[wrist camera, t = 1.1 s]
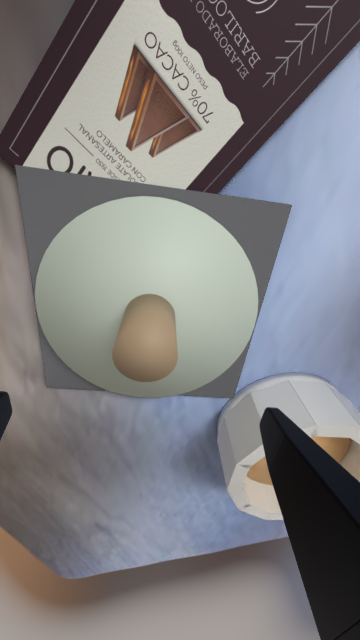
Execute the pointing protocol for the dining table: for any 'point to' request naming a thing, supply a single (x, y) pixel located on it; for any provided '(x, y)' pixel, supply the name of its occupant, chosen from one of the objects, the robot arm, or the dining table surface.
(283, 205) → the mat
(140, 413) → the dining table surface
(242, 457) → the bowl
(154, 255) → the lid
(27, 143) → the chocolate bar
